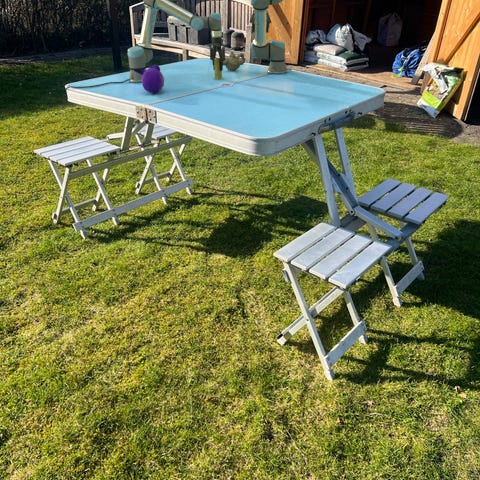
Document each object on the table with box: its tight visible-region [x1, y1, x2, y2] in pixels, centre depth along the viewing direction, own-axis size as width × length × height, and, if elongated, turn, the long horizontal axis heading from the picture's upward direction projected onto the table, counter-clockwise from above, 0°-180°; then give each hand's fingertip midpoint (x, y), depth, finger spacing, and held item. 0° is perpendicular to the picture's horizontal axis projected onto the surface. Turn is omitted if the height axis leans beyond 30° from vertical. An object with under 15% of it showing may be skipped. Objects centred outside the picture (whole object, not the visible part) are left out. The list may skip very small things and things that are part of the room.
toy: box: [134, 64, 165, 94], centre depth 304 cm, size 16×18×27 cm
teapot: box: [223, 50, 246, 72], centre depth 365 cm, size 21×12×15 cm, turn 120°
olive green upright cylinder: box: [214, 57, 223, 80], centre depth 339 cm, size 6×6×14 cm
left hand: (218, 70), depth 339 cm, fingers closed on olive green upright cylinder, 6 cm apart
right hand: (260, 32), depth 374 cm, fingers open, 13 cm apart
